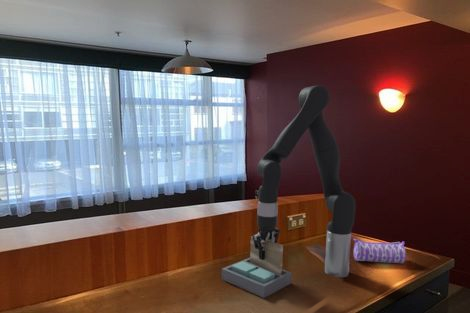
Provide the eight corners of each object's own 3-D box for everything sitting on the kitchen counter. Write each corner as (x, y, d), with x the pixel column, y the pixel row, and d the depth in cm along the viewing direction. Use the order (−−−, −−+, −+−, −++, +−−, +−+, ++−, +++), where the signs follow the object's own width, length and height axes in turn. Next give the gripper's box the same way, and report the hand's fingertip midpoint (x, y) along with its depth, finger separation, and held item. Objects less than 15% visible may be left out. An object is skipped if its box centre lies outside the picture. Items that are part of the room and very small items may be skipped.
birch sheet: (252, 270, 147) (253, 236, 146) (281, 282, 138) (282, 245, 136) (249, 271, 146) (250, 236, 145) (278, 283, 137) (280, 246, 135)
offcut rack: (249, 269, 151) (250, 257, 150) (291, 286, 137) (291, 272, 137) (221, 282, 139) (221, 268, 139) (263, 301, 126) (264, 286, 125)
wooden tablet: (302, 244, 180) (321, 240, 183) (302, 248, 181) (321, 244, 183) (330, 266, 155) (351, 261, 157) (330, 271, 155) (351, 266, 158)
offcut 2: (259, 281, 138) (259, 267, 138) (274, 287, 134) (275, 273, 133) (248, 286, 134) (249, 272, 133) (264, 292, 129) (264, 278, 129)
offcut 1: (242, 273, 144) (242, 261, 144) (256, 279, 139) (256, 266, 139) (231, 278, 140) (231, 265, 139) (245, 284, 135) (245, 271, 134)
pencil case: (399, 258, 168) (401, 237, 167) (409, 266, 159) (410, 245, 158) (350, 256, 168) (351, 236, 167) (356, 265, 159) (358, 243, 158)
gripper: (263, 218, 132) (261, 266, 133) (286, 212, 142) (285, 255, 144) (247, 214, 137) (245, 260, 139) (271, 208, 147) (269, 250, 149)
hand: (265, 257), depth 141 cm, fingers open, 4 cm apart
